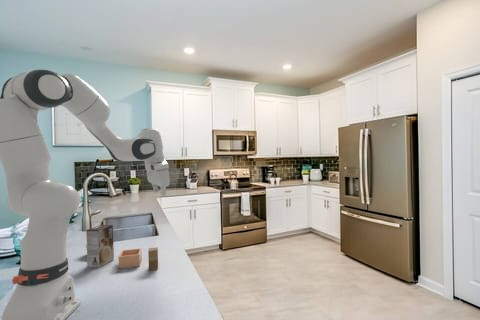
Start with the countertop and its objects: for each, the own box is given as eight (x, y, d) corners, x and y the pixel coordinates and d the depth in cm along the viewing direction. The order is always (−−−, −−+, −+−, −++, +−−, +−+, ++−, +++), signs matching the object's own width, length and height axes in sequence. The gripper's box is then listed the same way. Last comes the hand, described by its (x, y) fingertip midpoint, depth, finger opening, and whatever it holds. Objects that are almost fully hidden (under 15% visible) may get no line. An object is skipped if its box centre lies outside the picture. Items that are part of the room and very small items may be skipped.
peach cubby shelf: (139, 266, 110) (139, 254, 110) (118, 268, 108) (118, 256, 108) (141, 259, 118) (141, 248, 118) (122, 261, 116) (122, 250, 116)
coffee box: (102, 258, 119) (101, 224, 119) (114, 259, 118) (113, 224, 118) (86, 267, 110) (85, 229, 110) (99, 268, 109) (98, 230, 109)
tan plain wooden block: (157, 269, 106) (157, 250, 106) (148, 270, 106) (148, 251, 106) (158, 266, 110) (157, 247, 110) (149, 267, 109) (149, 248, 109)
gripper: (141, 164, 124) (146, 191, 126) (155, 167, 107) (160, 199, 109) (154, 161, 127) (158, 188, 129) (170, 164, 111) (174, 195, 113)
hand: (159, 193), depth 119 cm, fingers open, 8 cm apart
